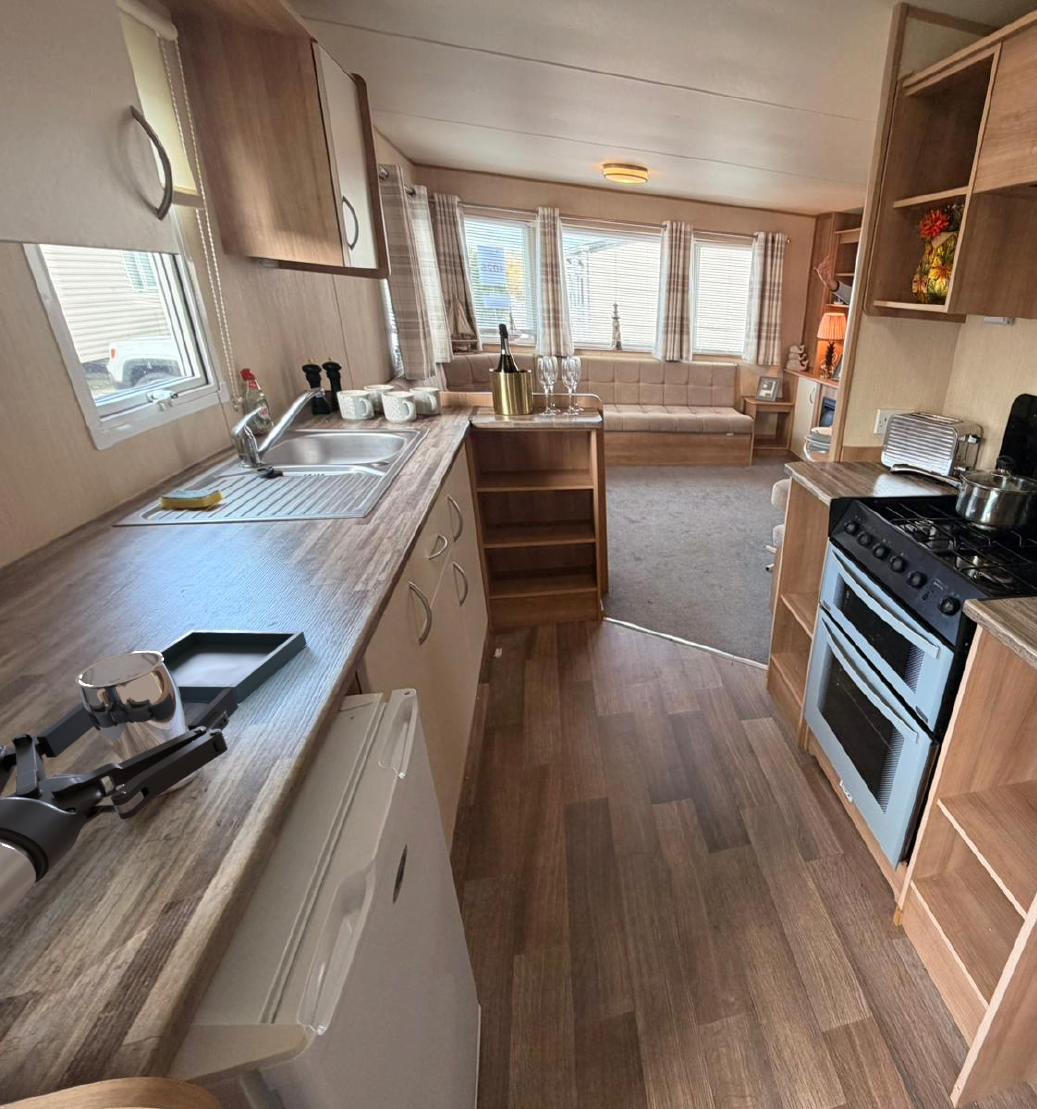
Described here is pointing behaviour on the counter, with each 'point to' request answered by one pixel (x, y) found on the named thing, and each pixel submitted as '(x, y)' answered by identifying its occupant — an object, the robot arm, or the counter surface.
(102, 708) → the shiny silver metal cup
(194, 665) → the tray
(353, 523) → the counter surface
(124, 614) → the counter surface
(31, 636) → the counter surface
